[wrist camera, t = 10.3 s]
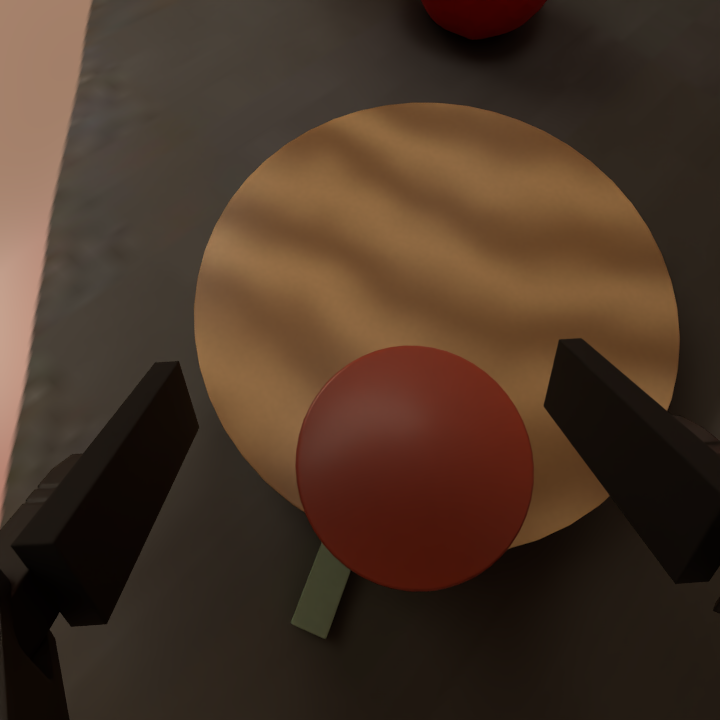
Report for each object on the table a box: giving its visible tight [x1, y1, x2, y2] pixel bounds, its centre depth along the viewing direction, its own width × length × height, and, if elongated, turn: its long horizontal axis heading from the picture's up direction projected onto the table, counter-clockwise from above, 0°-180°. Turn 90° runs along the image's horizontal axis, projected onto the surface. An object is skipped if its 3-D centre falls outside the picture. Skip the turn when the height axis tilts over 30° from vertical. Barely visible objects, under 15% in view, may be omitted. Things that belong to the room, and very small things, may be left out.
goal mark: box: [291, 543, 351, 639], centre depth 17 cm, size 4×2×1 cm, turn 158°
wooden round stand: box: [194, 103, 680, 592], centre depth 14 cm, size 22×22×11 cm
